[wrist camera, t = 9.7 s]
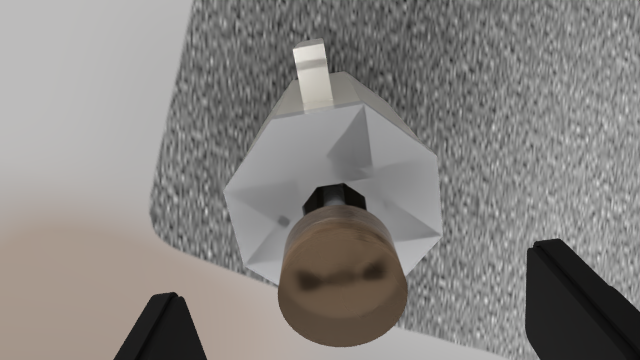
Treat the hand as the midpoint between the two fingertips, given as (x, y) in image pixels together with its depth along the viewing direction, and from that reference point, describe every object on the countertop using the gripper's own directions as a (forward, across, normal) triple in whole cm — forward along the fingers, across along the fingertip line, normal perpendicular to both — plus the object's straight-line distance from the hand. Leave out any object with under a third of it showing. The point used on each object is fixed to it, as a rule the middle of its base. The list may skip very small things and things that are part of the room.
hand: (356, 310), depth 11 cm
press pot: (+20, +1, 0) cm, 20 cm away
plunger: (+19, +1, +1) cm, 19 cm away
